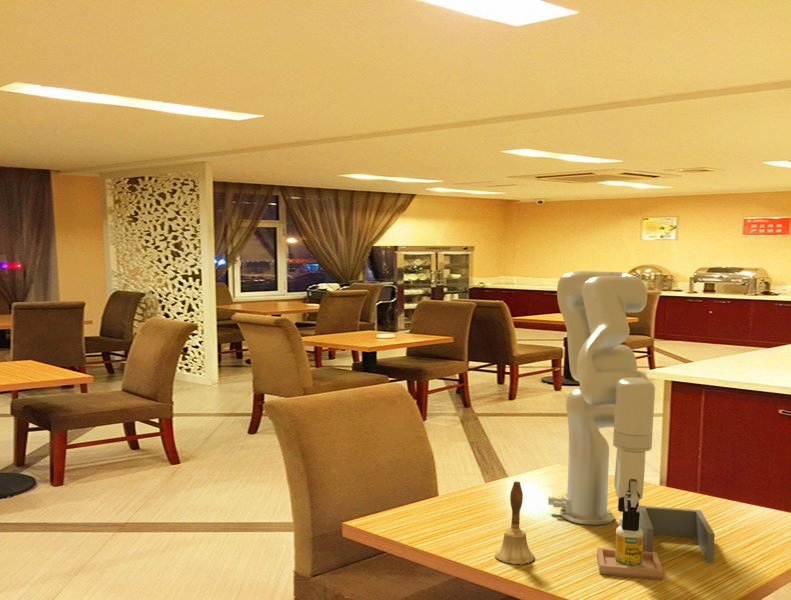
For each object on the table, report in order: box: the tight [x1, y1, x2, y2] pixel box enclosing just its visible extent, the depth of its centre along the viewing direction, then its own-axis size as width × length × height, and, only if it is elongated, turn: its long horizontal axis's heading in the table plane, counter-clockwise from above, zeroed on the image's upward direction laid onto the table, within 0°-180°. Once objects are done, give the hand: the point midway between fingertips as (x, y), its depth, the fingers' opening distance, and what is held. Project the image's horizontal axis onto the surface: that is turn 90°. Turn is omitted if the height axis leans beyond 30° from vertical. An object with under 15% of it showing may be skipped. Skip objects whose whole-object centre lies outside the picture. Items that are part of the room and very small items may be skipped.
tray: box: [596, 546, 664, 581], centre depth 160 cm, size 12×10×2 cm
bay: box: [639, 505, 716, 563], centre depth 173 cm, size 13×16×6 cm
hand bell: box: [494, 481, 536, 565], centre depth 164 cm, size 8×8×16 cm
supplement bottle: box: [615, 515, 644, 567], centre depth 160 cm, size 5×5×10 cm
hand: (627, 520), depth 161 cm, fingers open, 9 cm apart
